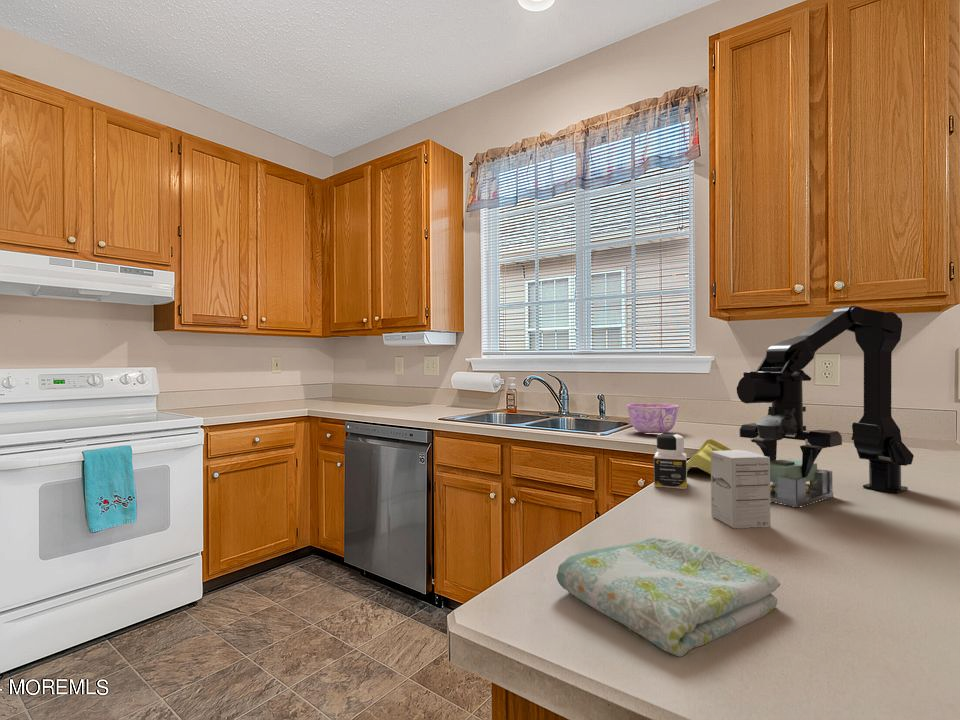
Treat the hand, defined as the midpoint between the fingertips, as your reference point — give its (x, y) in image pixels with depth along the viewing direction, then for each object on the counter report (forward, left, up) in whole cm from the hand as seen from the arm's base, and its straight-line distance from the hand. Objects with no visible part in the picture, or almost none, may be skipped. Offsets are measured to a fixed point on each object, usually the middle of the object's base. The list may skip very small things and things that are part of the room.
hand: (788, 474), depth 112 cm
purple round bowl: (-55, -80, -5) cm, 97 cm away
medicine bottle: (+11, -22, -5) cm, 25 cm away
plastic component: (-10, -25, -5) cm, 28 cm away
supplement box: (+25, +4, -5) cm, 26 cm away
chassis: (0, 0, -5) cm, 5 cm away
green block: (0, 0, -1) cm, 1 cm away
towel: (+62, +16, -5) cm, 64 cm away
